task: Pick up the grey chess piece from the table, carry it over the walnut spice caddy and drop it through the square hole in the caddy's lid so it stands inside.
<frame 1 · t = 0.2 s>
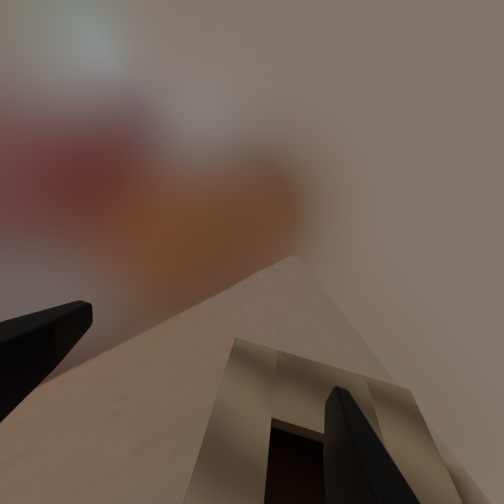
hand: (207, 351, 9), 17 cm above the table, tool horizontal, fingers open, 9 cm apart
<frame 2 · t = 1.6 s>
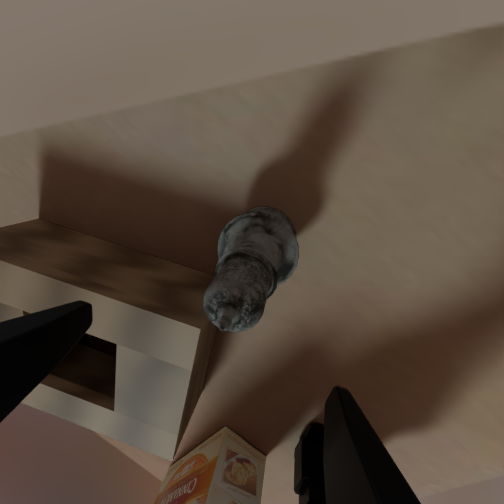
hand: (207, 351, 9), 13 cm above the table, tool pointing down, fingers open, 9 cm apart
coffeecake box: (214, 459, 33), on the table
grey chess piece: (264, 237, 21), on the table
spice caddy: (126, 314, 26), on the table
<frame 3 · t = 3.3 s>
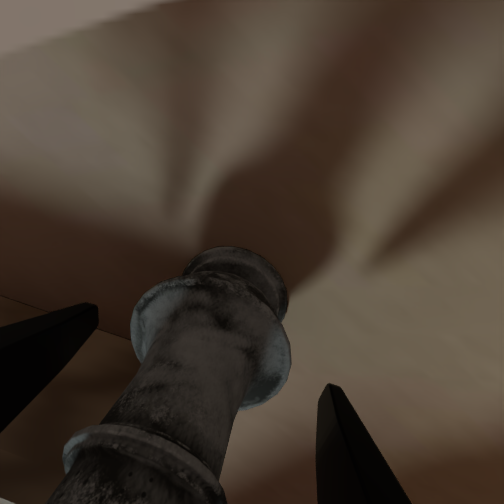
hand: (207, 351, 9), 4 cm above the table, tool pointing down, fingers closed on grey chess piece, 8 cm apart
grey chess piece: (233, 295, 12), on the table, touching gripper
spice caddy: (40, 392, 18), on the table
when the fingers open (11 cm above the table, at t = 7.4 s): grey chess piece drops 8 cm, resting in spice caddy.
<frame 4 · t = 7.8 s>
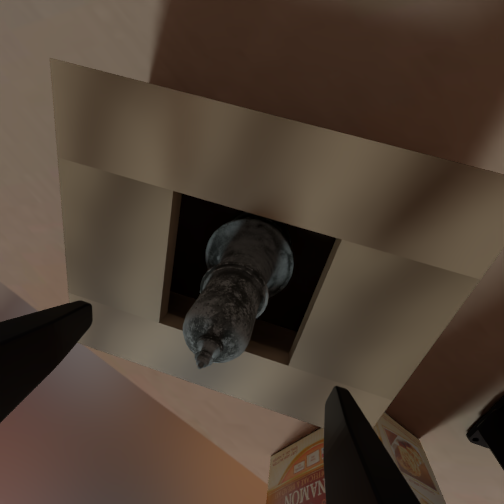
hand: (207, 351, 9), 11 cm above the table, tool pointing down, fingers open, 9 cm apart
coffeecake box: (336, 445, 26), on the table
grey chess piece: (257, 242, 19), resting in spice caddy
spice caddy: (257, 242, 19), on the table
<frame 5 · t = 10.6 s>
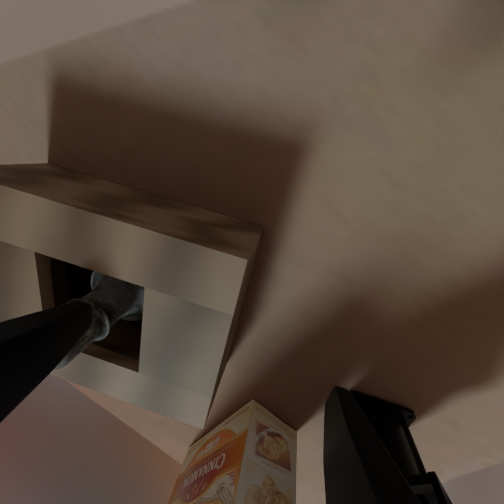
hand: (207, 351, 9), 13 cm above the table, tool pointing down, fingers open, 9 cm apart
coffeecake box: (238, 437, 31), on the table
grey chess piece: (146, 272, 24), resting in spice caddy
spice caddy: (146, 273, 24), on the table
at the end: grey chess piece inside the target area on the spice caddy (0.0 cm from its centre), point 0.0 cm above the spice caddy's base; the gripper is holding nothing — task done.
